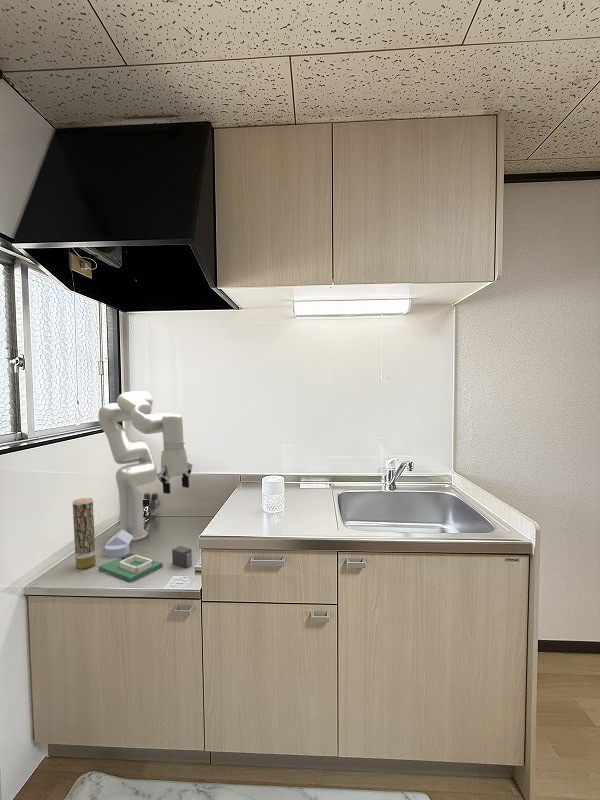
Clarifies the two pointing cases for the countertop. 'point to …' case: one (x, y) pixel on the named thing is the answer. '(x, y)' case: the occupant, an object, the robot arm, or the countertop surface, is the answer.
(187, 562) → the plug
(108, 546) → the wedge on round base
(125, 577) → the board
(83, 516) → the bark patterned cylinder
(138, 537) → the robot arm
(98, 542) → the countertop surface
